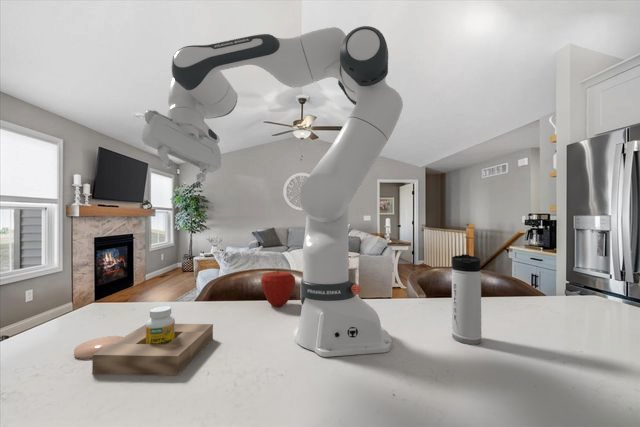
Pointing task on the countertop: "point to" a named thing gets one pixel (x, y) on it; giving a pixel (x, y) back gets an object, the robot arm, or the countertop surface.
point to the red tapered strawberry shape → (278, 287)
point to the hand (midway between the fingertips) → (184, 174)
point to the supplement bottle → (160, 326)
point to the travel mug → (466, 299)
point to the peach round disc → (94, 346)
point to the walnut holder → (153, 352)
